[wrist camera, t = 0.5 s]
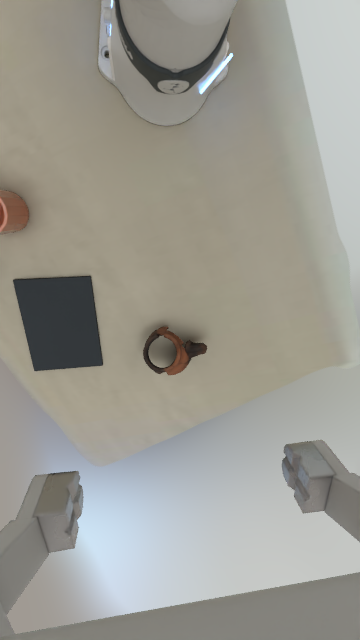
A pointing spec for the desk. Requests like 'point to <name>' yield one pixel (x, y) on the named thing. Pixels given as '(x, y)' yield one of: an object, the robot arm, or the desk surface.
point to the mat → (59, 322)
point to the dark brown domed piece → (182, 353)
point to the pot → (12, 212)
